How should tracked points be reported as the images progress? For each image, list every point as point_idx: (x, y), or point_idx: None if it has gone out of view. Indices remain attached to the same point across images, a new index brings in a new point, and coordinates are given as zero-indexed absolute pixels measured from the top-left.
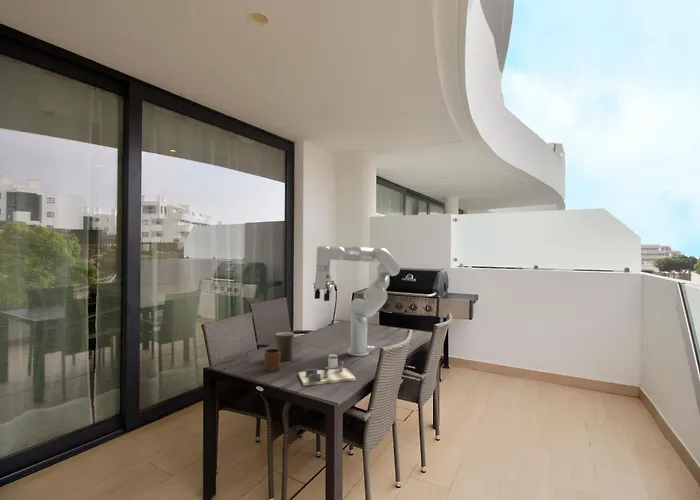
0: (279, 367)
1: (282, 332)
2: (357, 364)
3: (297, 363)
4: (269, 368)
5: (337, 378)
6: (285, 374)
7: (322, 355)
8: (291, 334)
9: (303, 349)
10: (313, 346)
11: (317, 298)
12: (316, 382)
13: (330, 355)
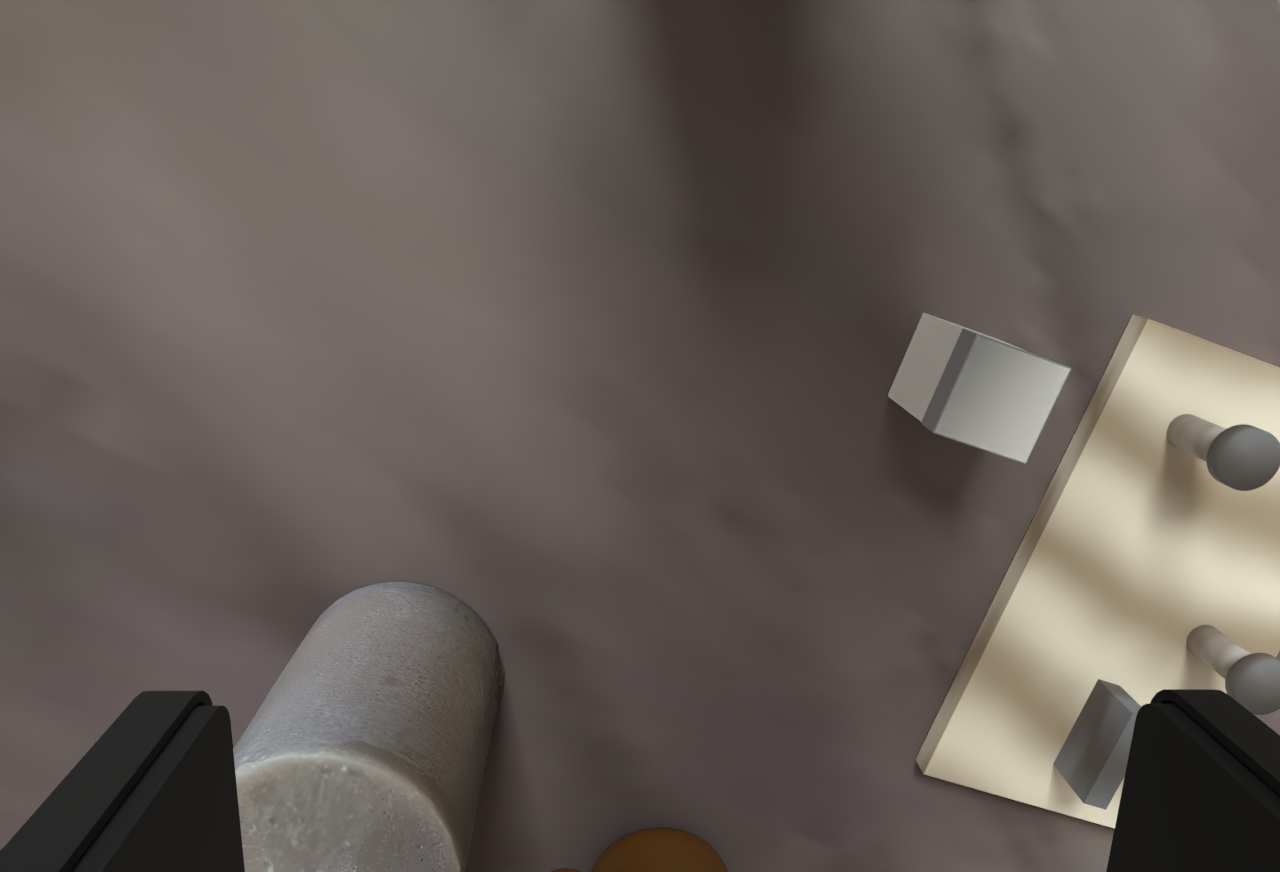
0: (717, 862)
1: None
2: (1076, 61)
3: (623, 622)
4: None
5: None
6: (836, 837)
7: (513, 224)
8: (424, 821)
9: (124, 293)
10: (30, 77)
11: (236, 842)
12: None
13: (998, 438)
